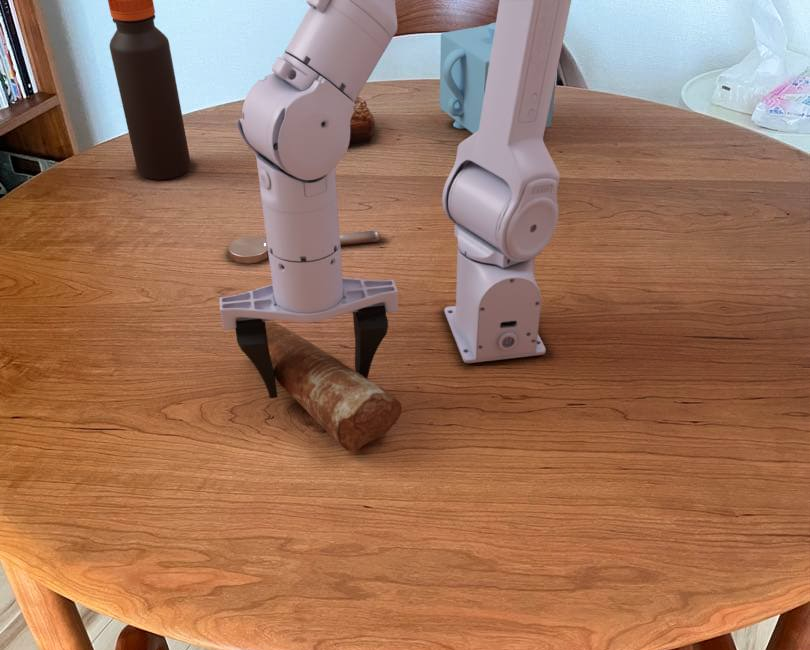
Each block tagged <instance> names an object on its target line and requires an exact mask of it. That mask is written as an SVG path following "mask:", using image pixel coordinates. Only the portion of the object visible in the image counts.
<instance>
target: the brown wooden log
mask: <svg viewBox="0 0 810 650" xmlns="http://www.w3.org/2000/svg"><path fill="white" fill-rule="evenodd" d="M265 326H266V333H267V340H268V348H269V353H270V357H271V361H272V365H273V370H274V374H275V382H276V384H278V385H279V386H280V387H281V388H282V389H283V390H284V391H285V392H286V393H287V394H288V395H289V396H290V397H292V398H293V399H294V400H295V401H296V402H297V403H298V404H300V406H301V407H302V408H303V409H304V410H305V411H306V412H307V413H308V414H309V415H310V416H311V417H312V419H313V420H314V421H315V422H316V423H317V424H318V425H320V427H321V428H322V429H324V430H325V431H326V433H327V434H328V435H329V436H330V437H331V438H332V439H333V440H335V442H336V443H338V444H339V446H340V447H342V448H343V449H344V450H345V451H347V452H357V451H359V449H360V448H361V447H363V446H365V445H367V444H368V443H370V442H373V441H376V440H378V439H379V438H380V437H382V436H384V435H385V434H387V432H389V431H390V429H392V427H393V426H394V425H395V424H396V423H397V421H398V420H399V418H400V416H401V414H402V404H401V402H400V400H398V398H396V397H394V396H393V395H391V394H390V393H389V392H388V391H386V389H384V388H382V387H381V386H380V385H378V384H375V383H374V382H372V381H371V380H369V379H368V378H365V377H364V376H362V375H361V374H359V373H358V372H356V371H355V369H352V368H351V367H349V366H348V365H346V364H345V363H343V362H342V361H341V360H340V359H338V358H336V357H335V356H333V355H332V354H330V353H328V352H326V351H325V350H324V349H321V348H320V347H318V346H316V345H315V344H314V343H311V342H310V341H309V340H307V339H305V338H303V337H301V336H300V335H298V334H297V333H295V332H293V331H291V330H290V329H288V328H286V327H284V326H283V325H280V324H279V323H276V322H275V321H266V322H265Z"/></svg>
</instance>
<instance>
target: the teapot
mask: <svg viewBox="0 0 810 650" xmlns="http://www.w3.org/2000/svg"><path fill="white" fill-rule="evenodd" d="M495 25H496V21H495V22H491V23H489V24H485V25H479V26H474V27H469V28H463V29H462V28H461V29H458V30H451V31H450V30H449V31H444V32H441V33H440V61H439V63H440V65H439V67H440V68H439V70H440V71H439V109H440V110H442V111H443V112H444V113H445V114H447V115H448V116H450V117H451V118H452V119H453V120H454V122H453V124H452V125H453V127H454V128H456V129H462V130H465V129H466V130H468V131H469V132H470V133H471V134H472V135H473V134H474V133H476V132H477V131H478V130H479V125H480V119H481V113H482V106H483V100H484V94H485V88H486V81H487V75H488V69H489V63H490V56H491V50H492V44H493V38H494V32H495ZM556 83H557V77H556V78H555V82H554V87H553V92H552V97H551V102H550V107H549V112H548V117H547V121H546V126H545V128H548V127H551V126H552V121H553V111H554V101H555V91H556Z"/></svg>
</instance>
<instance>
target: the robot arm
mask: <svg viewBox="0 0 810 650" xmlns="http://www.w3.org/2000/svg"><path fill="white" fill-rule="evenodd" d="M305 1H306V3H307V4H308V6H309V8H308V10H307V11H306V13H305V15H304V17H303V19H302V20H301V22H300V24H299V26H298V28H297V29H296V31H295V33H294V35H293V36H292V38H291V39H290V42H289V43H288V45H287V46H286V49H285V50H284V52H283V54H282V56H281V57H280V56H278V57H276V60H275V61H274V63H273V64H272V67H271V71H272V72H273V73H270V74H267V75H265V76H264V79H258V80H257V81H256V82H255V83H254V84H253V86H252V87H251V88H250V90H249V91H248V92H247V94H246V97H245V98H244V101H243V105H242V109H241V113H242V117H241V118H237V120H236V121H235V123H236V128H237V132H238V134H239V136H240V138H241V140H242V142H243V143H244V144H245V145H246V146H247V147H248V148H249V149H250V150H251V151H252V152H253V154H254V155H255V158H256V159H255V160H256V166H257V175H258V181H259V182H258V183H259V192H260V193H259V194H260V200H261V208H262V216H263V224H264V231H265V237H266V238H265V239H266V240H267V247H268V254H269V257H268V262H269V269H270V276H271V277H270V278H271V283H272V284H269V285H266V286H263V287H259V288H255V289H252V290H250V291H246V292H245V291H244V292H242V293H238V294H234V295H229V296H221V297H219V298H218V299H219V310H220V317H221V323H222V328H223V331H231V330H235V334H236V336H235V337H236V343H237V344H238V346H239V349H240V350H241V351H242V353H243V354H244V355H246V357H247V358H248V359H249V360H250V362H251V363H252V364H253V365H254V367H255V368H256V370H257V371H258V373H259V375H260V377H261V379H262V381H263V382H264V385H265V387H266V390H267V392H268V396H269V399H278V398H279V397H278V390H277V382H276V381H275V374H274V370H273V365H272V361H271V357H270V353H269V348H268V340H267V333H266V326H265V323H266V322H275V321H281V322H292V323H304V324H305V323H306V324H307V323H317V322H318V323H319V322H323V321H327V320H329V319H333V318H336V317H339V316H343V315H345V314H350V313H352V320H353V329H354V330H353V332H354V370H355V371H356V372H358V373H359V374H361V375H362V376H364V377H365V378H367V379H368V378H369V373H370V370H371V366H372V363H373V360H374V358H375V355H376V354H377V353H376V352H377V350H378V348H379V347H380V345H381V343H382V342H383V340H384V339H385V337H386V336H387V333H388V329H389V319H388V317H387V313H389V314H390V313H398V312H399V290H398V287H397V285H396V281H395V280H394V279H384V280H379V279H377V280H375V279H360V278H351V277H349V278H348V277H343V263H342V250H341V249H342V248H341V246H342V245H340V234H341V232H340V220H339V219H340V217H339V204H338V190H337V189H338V187H337V186H338V185H337V175H336V167H337V165H338V164H339V163H340V161H341V160H342V159H343V158H344V157H345V156H346V155H347V152H348V149H349V147H348V146H349V141H350V121H351V117H352V115H353V113H354V112H355V111H354V110H353V108H354V106H355V103H354V102H355V101H356V99H357V97H359V95H360V94H361V92H362V90H363V88H364V87H365V86H366V83H367V82H368V80H369V78H370V77H371V75H372V73H373V72H374V71H375V68H376V67H377V65H378V63H379V62H380V60H381V58H382V57H383V55H384V54H385V52H386V50H387V48H388V47H389V45H390V43H391V41H392V40H393V38H394V36H395V35H396V33H397V31H398V17H397V8H396V7H397V6H396V0H305ZM571 4H572V0H499V1H498V8H497V14H496V19H495V22H496V25H495V32H494V38H493V44H492V50H491V56H490V63H489V69H488V75H487V81H486V88H485V94H484V100H483V106H482V113H481V119H480V125H479V130H478V131H477V132H476V133H474V134H473V133H472V134H471V135H470V136H468V137H467V138H465V139H464V140H463V141H461V142H460V143H458V145H457V150H456V157H455V162H454V163H453V166H452V169H451V171H450V173H449V174H448V177H447V179H446V181H445V183H444V186H443V190H442V197H441V204H442V209H443V213H444V214H445V216H446V217H447V219H448V220H449V221H450V222H452V223H453V224H454V231H453V232H454V237H456V239H457V254H456V255H457V257H456V285H455V305H451V306H446V307H445V308H444V315H445V318H446V320H447V322H448V325H449V328H450V330H451V333H452V335H453V338H454V341H455V343H456V345H457V349H458V351H459V353H460V356H461V359H462V361H463V362H464V363H466V364H474V363H484V362H493V361H501V360H509V359H518V358H519V359H520V358H528V357H534V356H543V355H545V354H546V350H547V349H546V346H545V345H544V343H543V341H542V339H541V336H540V334H539V328H540V318H541V317H540V316H541V311H542V310H541V309H542V294H541V290H540V288H539V285H538V283H537V280H536V278H535V266H536V257H537V256H540V255H541V254H542V251H543V250H544V249H545V248H546V247H547V246H548V244H549V243H550V241H551V240H552V238H553V236H554V234H555V232H556V229H557V227H558V222H559V214H560V213H559V211H560V210H559V203H558V188H559V182H560V178H561V175H560V172H559V171H558V168H557V166H556V164H555V162H554V160H553V158H552V156H551V155H550V153H549V150H548V148H547V146H546V144H545V142H544V135H545V131H546V127H545V126H546V121H547V117H548V112H549V107H550V102H551V97H552V92H553V87H554V82H555V78H556V79H557V74H558V73H557V72H558V68H559V63H560V58H561V54H562V53H561V52H562V48H563V43H564V37H565V33H566V29H567V23H568V19H569V14H570V9H571Z"/></svg>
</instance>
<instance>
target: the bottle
mask: <svg viewBox="0 0 810 650" xmlns="http://www.w3.org/2000/svg"><path fill="white" fill-rule="evenodd" d="M107 2H108V3H107V4H108V9H109V13H110V16H111V19H112V22H113V24H115V26H116V31H115V32H114V34H113V35H112V37H111V38H110V42H109V52H110V56H111V60H112V65H113V69H114V73H115V74H114V75H115V78H116V82H117V87H118V91H119V96H120V101H121V104H122V110H123V114H124V118H125V122H126V127H127V132H128V135H129V140H130V145H131V149H132V154H133V158H134V163H135V167H136V170H137V172H138V174H139V175H140V176H142V177H144V178H146V179H148V180H149V179H150V180H157V181H161V180H171V179H175V178H178V177H182V176H183V175H185V174H186V173H187V172H188V171H189V170H190V169H191V157H190V151H189V146H188V140H187V134H186V129H185V124H184V118H183V113H182V106H181V102H180V96H179V91H178V85H177V80H176V75H175V74H176V73H175V69H174V68H175V67H174V63H173V58H172V57H173V56H172V51H171V46H170V41H169V39H168V37H167V36H166V35H165V33H164V32H162V31H161V30H160V29H158V27H156V26H155V20H156V10H155V3H154V0H107Z"/></svg>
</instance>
